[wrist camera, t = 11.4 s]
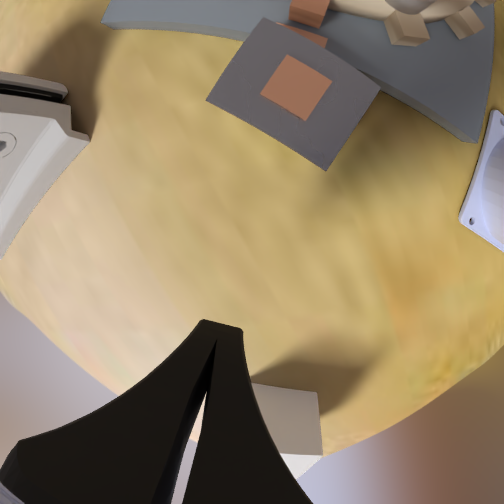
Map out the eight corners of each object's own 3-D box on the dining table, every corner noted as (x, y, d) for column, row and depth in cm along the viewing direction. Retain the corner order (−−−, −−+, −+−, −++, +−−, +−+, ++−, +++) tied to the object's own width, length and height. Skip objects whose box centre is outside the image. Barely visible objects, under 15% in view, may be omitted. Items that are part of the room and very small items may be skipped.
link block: (352, 100, 12) (384, 86, 8) (311, 162, 13) (327, 172, 9) (266, 48, 11) (262, 13, 7) (224, 110, 12) (203, 99, 8)
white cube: (293, 427, 22) (293, 481, 16) (230, 417, 22) (220, 473, 16) (317, 391, 19) (323, 455, 14) (242, 379, 19) (232, 447, 14)
